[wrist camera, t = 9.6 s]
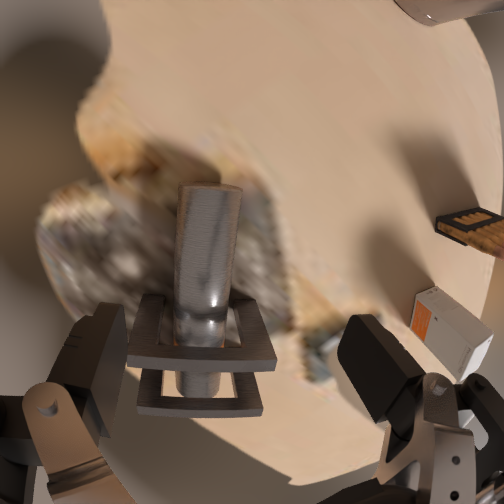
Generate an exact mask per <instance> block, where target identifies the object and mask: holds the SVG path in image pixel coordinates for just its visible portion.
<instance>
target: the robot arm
mask: <svg viewBox="0 0 504 504" xmlns="http://www.w3.org/2000/svg"><path fill="white" fill-rule="evenodd" d="M395 1H396V2H397V3H398V5H399V6H400V7H401V8H402V9H403V10H404V11H405V12H406V13H407V14H409V15H410V16H411V17H412V18H414V19H415V20H417V21H418V22H420V23H422V24H425V25H427V26H435V25H438V24H442V23H446V22H449V21H453V20H458V19H462V18H466V17H469V16H475V15H480V14H485V13H490V12H496V11H503V10H504V0H395ZM127 355H128V340H127V332H126V323H125V314H124V307H123V305H121V304H113V303H104V302H100V304H99V305H98V307H97V309H96V311H95V313H94V315H93V316H87V315H85V316H84V317H83V318H81V319H80V320H79V321H77V322H76V323H75V324H74V326H73V328H72V330H71V331H70V333H69V337H67V339H66V341H65V343H64V346H63V347H62V349H61V351H60V353H59V355H58V357H57V359H56V361H55V363H54V365H53V367H52V370H51V372H50V374H49V377H48V378H47V380H46V382H42V383H38V384H36V385H34V386H32V387H31V388H30V389H29V390H28V391H27V392H26V393H25V395H24V396H2V395H0V504H32V502H33V492H34V484H35V476H36V470H37V466H44V469H45V471H46V473H47V475H48V478H49V482H48V483H47V489H48V491H49V494H50V496H51V498H52V500H53V502H54V504H137V503H136V502H135V500H134V499H133V498H132V497H131V495H130V494H129V493H128V491H127V490H126V489H125V488H124V486H123V485H122V483H121V482H120V481H119V479H118V478H117V477H116V475H115V474H114V472H113V471H112V469H111V468H110V466H109V465H108V463H107V462H106V460H105V459H104V457H103V456H102V454H101V452H100V451H99V449H98V444H99V439H100V436H102V437H108V438H111V434H112V428H113V423H114V417H115V412H116V406H117V401H118V396H119V392H120V387H121V382H122V378H123V373H124V369H125V365H126V361H127ZM337 356H338V360H339V362H340V364H341V365H342V367H343V369H344V371H345V372H346V374H347V376H348V377H349V379H350V381H351V383H352V384H353V386H354V388H355V389H356V391H357V393H358V394H359V396H360V398H361V400H362V401H363V403H364V405H365V406H366V408H367V410H368V412H369V413H370V415H371V417H372V419H373V420H374V422H375V424H377V423H380V422H383V421H386V420H388V421H389V422H390V423H389V425H388V426H387V427H386V430H385V436H384V441H383V446H382V451H381V456H380V461H379V465H378V468H377V471H376V472H375V474H374V476H373V477H372V478H371V479H370V480H368V481H365V482H362V483H360V484H357V485H354V486H351V487H348V488H345V489H342V490H341V491H339V492H338V493H336V494H334V495H332V496H330V497H329V498H327V499H325V500H323V501H321V502H319V503H317V504H504V399H503V398H502V397H501V396H500V394H499V393H498V392H497V391H496V390H495V388H494V387H493V386H492V385H491V384H490V382H489V381H488V380H487V379H486V378H485V377H483V376H482V375H479V374H477V373H471V374H469V375H468V377H467V378H466V379H465V381H464V382H463V384H452V382H451V381H450V380H449V379H448V378H447V377H445V376H444V375H441V374H439V373H434V372H431V373H427V374H426V372H425V371H424V370H423V369H422V368H421V366H420V365H419V364H418V363H417V362H416V360H415V359H414V358H413V357H412V356H411V355H410V353H409V352H408V351H407V350H405V348H404V347H403V345H402V344H401V343H399V341H398V340H397V338H396V337H395V336H394V335H393V334H392V333H391V332H389V331H388V330H387V329H385V328H384V327H383V326H382V325H381V324H380V323H379V322H378V320H377V319H376V318H375V317H374V316H373V315H371V314H359V315H352V316H351V317H350V319H349V321H348V324H347V326H346V329H345V331H344V334H343V336H342V338H341V341H340V343H339V346H338V350H337ZM474 416H476V417H477V419H478V420H479V422H480V423H481V424H482V426H483V427H484V429H485V430H486V432H487V433H488V436H489V439H488V443H487V444H486V445H485V447H484V448H482V449H481V450H478V449H477V448H476V446H475V445H474V436H473V432H472V431H471V430H469V429H464V427H465V426H466V424H467V423H468V422H469V421H470V420H471V419H472V418H473V417H474ZM499 471H502V472H500V473H499Z"/></svg>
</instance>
